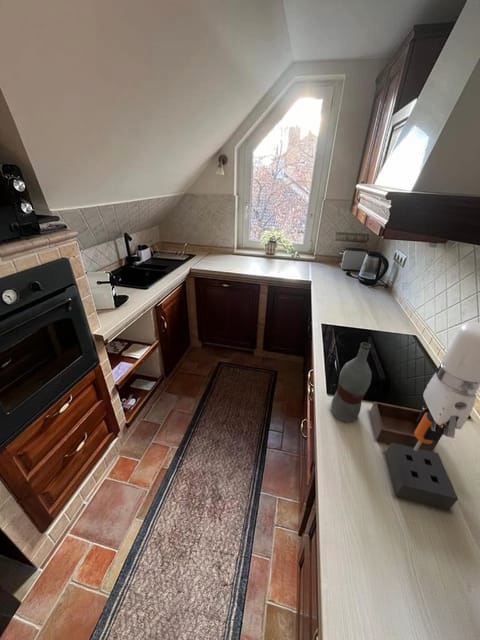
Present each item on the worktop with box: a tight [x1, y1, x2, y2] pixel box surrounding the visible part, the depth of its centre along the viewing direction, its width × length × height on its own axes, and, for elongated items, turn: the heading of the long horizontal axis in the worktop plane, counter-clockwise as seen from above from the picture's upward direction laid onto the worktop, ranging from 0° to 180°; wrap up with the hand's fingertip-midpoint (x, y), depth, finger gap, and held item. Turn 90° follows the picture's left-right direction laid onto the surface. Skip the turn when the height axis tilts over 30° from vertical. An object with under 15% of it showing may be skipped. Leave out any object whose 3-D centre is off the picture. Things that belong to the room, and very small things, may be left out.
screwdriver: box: [414, 412, 443, 451], centre depth 65 cm, size 4×4×13 cm
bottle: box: [330, 341, 373, 423], centre depth 83 cm, size 9×9×30 cm
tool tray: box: [369, 401, 439, 452], centre depth 83 cm, size 16×12×6 cm
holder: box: [384, 443, 459, 511], centre depth 69 cm, size 12×12×6 cm
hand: (426, 430), depth 64 cm, fingers closed on screwdriver, 4 cm apart
